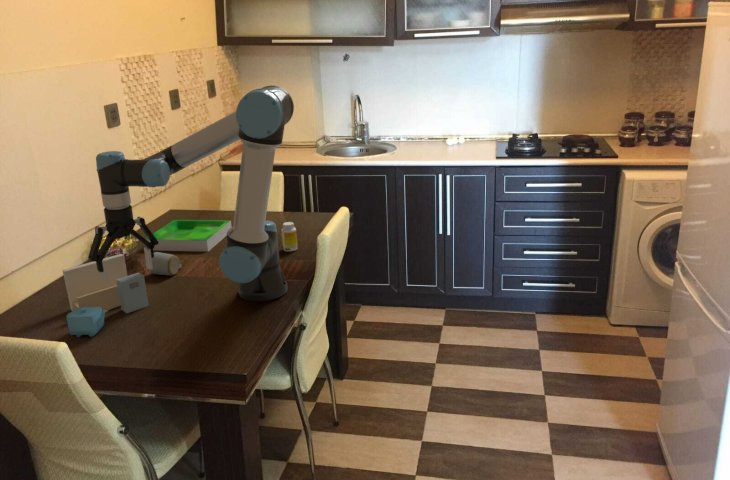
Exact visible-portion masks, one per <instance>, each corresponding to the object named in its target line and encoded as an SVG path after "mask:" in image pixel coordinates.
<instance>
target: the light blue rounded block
mask: <svg viewBox="0 0 730 480" xmlns="http://www.w3.org/2000/svg"><path fill="white" fill-rule="evenodd" d="M109 310H110V309H109ZM109 310H104V311H102V308H101V307H81V308H75V309H74V310H73V311H72V310H71V311H70V312H68V313H67V315H66V317H65V319H66V323H67V327H68V330H69V331H68V333H69V336H75V337H76V338H81V337H82V336H87V335H88V337H95V335H97V334H98V332H99V331H100V330H101V329H102V328H103V327H104V325H105V315H106V314H107V312H109Z"/></svg>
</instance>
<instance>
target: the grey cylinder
mask: <svg viewBox="0 0 730 480" xmlns="http://www.w3.org/2000/svg"><path fill="white" fill-rule="evenodd" d="M152 265H153V269H152V270H150V269H148V270H149V272H150V273H151V274H152V275H159V276H175V275H176V274H178V272H179V270H180V269H181V268H182V263H181V261H180V258H179V257H178V256H177V255H174V254H171V253H165V252H161V251H160V252H159V251H154V258H152Z"/></svg>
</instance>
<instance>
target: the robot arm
mask: <svg viewBox="0 0 730 480" xmlns="http://www.w3.org/2000/svg"><path fill="white" fill-rule="evenodd" d="M294 111H295V105H294V100H293V98H292V97H291V95H290V93H289V92H288V91H287V90H286V89H285V88H283V87H281V86H278V85H266V86H263V87H261V88H256V89H253V90H251V91H250V90H249V91H248V92H247V93H246V94H245V95H244V96H242V98H241V99H240V100H239V102H238V104H237V106H236V109H235V111H234V112H232V113H230V114H227V115H226V116H224V117H222V118H220V119H218V120H217V121H214V122H213V123H211V124H209V125H207V126H205V127H204V128H201V129H200V130H198V131H196V132H194V133H192V134H191V135H188V136H186V137H185V138H182V139H181V140H179V141H177V142H175V143H173V144H172V145H170V146H168V147H166V148H164V149H162V150H160V151H158V152H156V153H154V154H151V155H150V156H146V157H145V158H142V159H141V158H140V159H126V157H125V153H124V152H122V151H119V150H110V151H103V152H99V153H98V154H97V155H96V156H95V162H96V172H97V176H98V181H99V187H100V195H101V201H102V202H101V203H102V206H103V208H104V209H103V213H104V219H105V226H98V225H96V226H95V227H94V231H95V233H94V237H93V240H92V244H91V247H90V250H89V253H88V256H87V259H88V261H89V260H90V262H94V261H96V265H97V270H98V271H99V272H101V274H102V280H103V281H104V282H106V283H108V282H109V280H108V274H107V268H106V262H105V261H104V260H103V259H104V258H106V257H105V256H106V255H107V253H108V251H109V250H110V248H111V246H112V245H113V243H114V242H115V241H116V239H118V240H120V239H122V238H126V237H130V235H131V236H132V237H134V238H135V239H136V240H138V241H139V242H140V243H142V244H143V245H144V247H143V253H144V257H145V266H146V269H148V270H149V269H150V270H152V269H153V265H152V258H154V253H155V251H153V249H154V246H155V245H158V243H159V242H158V241H157V239H156V238H155V236H154V235H153V234H154V233H153V232H152V231H151V230H150V229H149V226H148V225H147V223H146V221H145V217H142V216H137V218H134V213H133V206H132V205H131V204H132V198H131V194H130V193H131V192H130V188H129V187H138V188H139V187H146V188H157V187H165V186H167V184H168V182H169V180H170V177H171V176H173V175H174V174H177V173H178V172H180V171H182V170H183V169H185V168H187V167H189V166H191V165H193V164H196V163H197V162H199V161H201V160H203V159H205V158H207V157H209V156H211V155H213V154H214V153H217V152H219V151H221V150H222V149H224V148H226V147H228V146H230V145H232V144H234V143H236V142H238V141H240V142H241V143H242V152H241V158H240V159H241V160H240V168H239V169H240V170H239V175H238V185H237V194H236V202H235V211H234V219H233V226H232V227H231V228H230V229H229V230H228V231H227V236H225V237H226V239H225V246H224V247H225V248H224V249H223V250H222V251H221V253H220V256H219V259H218V265H219V269H220V271H221V272H222V274H223V275H224V276H225V277H226V278H227V279H228V280H230V281H231V282H234V283H237V284H239V285H238V295H239V297H240V298H241V299H243V300H246V301H248V302H249V301H250V302H267V301H268V302H269V301H271V300H276V299H279V298H280V297H283V296H284V295H285V294H287V292H288V282H287V279H286V277H285V275H284V272H283V270H282V268H281V263H280V252H279V241H278V240H279V239H278V229H277V224H276V223H275V222H274V221H272V220H266V219H267V211H268V204H269V198H270V191H271V184H272V175H273V169H274V163H275V161H274V160H275V154H276V149H277V148H278V147H280V146H281V145H282V144H283V138H284V134H285V133H284V131H285V126H286V125H287V124H288V123H289V122H290V121H291V119H292V117H293V115H294ZM136 225H138V226H139V228H140V229H141V230H142V232H143V233H144V234H145V236H146V238H149V240H150V241H151V242H148V241H147V240H146V238H145V237H143V236H142V235H141V234H140V233H139V232H137V231H136V230H135V229H134V228H135V226H136ZM106 232H107V235H106V236H105V240H104V241H103V237H104V234H105V233H106ZM102 241H103V243H102ZM101 243H102V244H101ZM146 246H147V247H146ZM150 270H149V271H150Z"/></svg>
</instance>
